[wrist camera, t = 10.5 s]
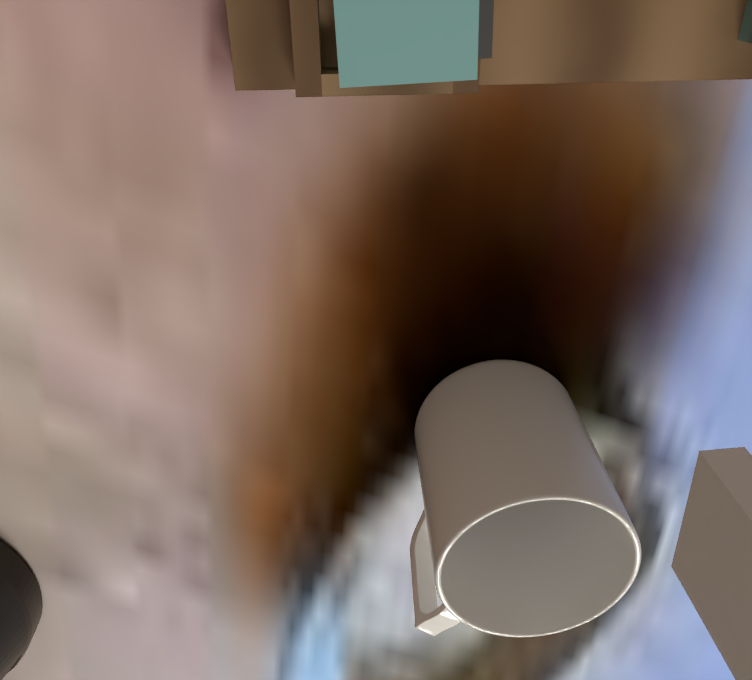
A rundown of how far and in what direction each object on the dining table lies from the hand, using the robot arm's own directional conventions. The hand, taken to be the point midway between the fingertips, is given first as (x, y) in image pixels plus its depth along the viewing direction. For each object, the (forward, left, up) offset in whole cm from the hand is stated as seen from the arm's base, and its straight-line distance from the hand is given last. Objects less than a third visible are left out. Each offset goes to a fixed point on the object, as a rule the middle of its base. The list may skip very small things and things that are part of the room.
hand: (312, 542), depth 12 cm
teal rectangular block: (+2, +7, -21) cm, 22 cm away
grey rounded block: (+7, -16, -23) cm, 29 cm away
